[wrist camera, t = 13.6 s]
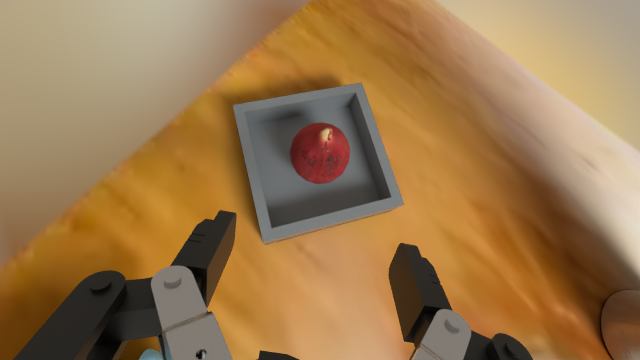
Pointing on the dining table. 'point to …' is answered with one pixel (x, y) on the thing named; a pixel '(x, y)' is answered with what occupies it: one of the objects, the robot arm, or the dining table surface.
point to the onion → (320, 153)
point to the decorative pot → (151, 355)
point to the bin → (295, 192)
